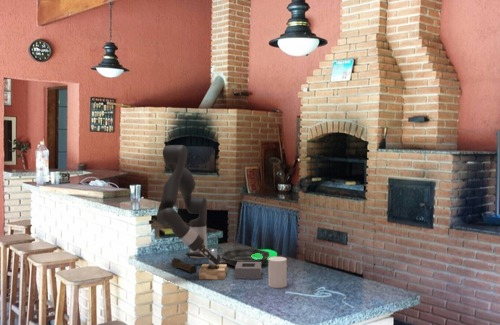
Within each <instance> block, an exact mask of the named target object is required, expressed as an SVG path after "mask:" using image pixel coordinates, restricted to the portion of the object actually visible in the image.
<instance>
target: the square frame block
mask: <svg viewBox="0 0 500 325" xmlns="http://www.w3.org/2000/svg"><path fill="white" fill-rule="evenodd" d="M227 272H228V263H218V265H217V269H209V263H202V265H201V267H200V268H199V270H198V280H225V278H226V276H227V274H228V273H227Z"/></svg>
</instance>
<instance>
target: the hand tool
mask: <svg viewBox="0 0 500 325" xmlns="http://www.w3.org/2000/svg"><path fill="white" fill-rule="evenodd" d="M171 263H172V264H171V265H172V267H174V268H176V269H181V270H184V271H186V272H189V274H195V273H196V272H197V269H198V267H197V266H196V265H192V264H190V263H187V262H183V261H182V260H181V258H177V257H174V258H172V260H171Z"/></svg>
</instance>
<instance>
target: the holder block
mask: <svg viewBox="0 0 500 325" xmlns="http://www.w3.org/2000/svg"><path fill="white" fill-rule="evenodd" d="M234 278H235V280H243V279H245V280H261V279H262V264H261V262H237V264H236V266H234Z"/></svg>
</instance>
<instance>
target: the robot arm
mask: <svg viewBox="0 0 500 325" xmlns="http://www.w3.org/2000/svg"><path fill="white" fill-rule="evenodd" d="M162 157H163V161H164V162H165V164H166V166H167V168H168V169H169V170H170V172H171V175H170V176H169V178H167V180H166V182H165V183H164V185H163V189H162V197H161V201H160V204H159V207H158V209H157V213H156V219H157V222H158V223H159V224H160V225H162V226H167V225H169V226H170V227H171V228H172V229H171V231H172V233H173V234H174V236H176V237H177V238H178V239H180V241H181V242H182V243H183V244H185V246H187V247H188V248H189V252H200V253H201V254H203V255H204V256H205V257H193V256H189V257H190V258H191V259H204V258H207V259H208V261H209V260H211V261H212V262H213V263H215V264H216V265H218V264H220V262H219V261H218V260H217V259H216V258H215V257H214V255H212V254H211V252H210V251H209V249H210V248H208V246H207V238H208V237H207V235H208V234H207V218H208V217H207V215H208V214H207V213H208V212H207V211H208V201H207V198H206V197H205V196H192V193H193V192H194V190H195V187H196V181H195V178H194V175H193V174H192V172H191V171H190V170H189V169H188V168H186V164H187V161H188V160H187V159H188V149H187V147H186V146H185V145H183V144H172V145H171V144H169V145H165V146H164V147H163V150H162ZM179 191H180V194H181V197H182V199H183V202H184V206H185V209H186V211H187V212H188V213H189V214H193V215H194V214H196V215H198V217H197V218H194V219H191V220H190V221H189V225H188V224H187V223H186V222H185V221H184V219H182V217H181V216H180V214H179V213H178V212H177V211H176V210H175V209H174V206H175V205H176V204H177V201H178V200H177V199H178V196H179V195H178V193H179ZM210 256H211V257H210ZM209 257H210V258H209Z"/></svg>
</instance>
